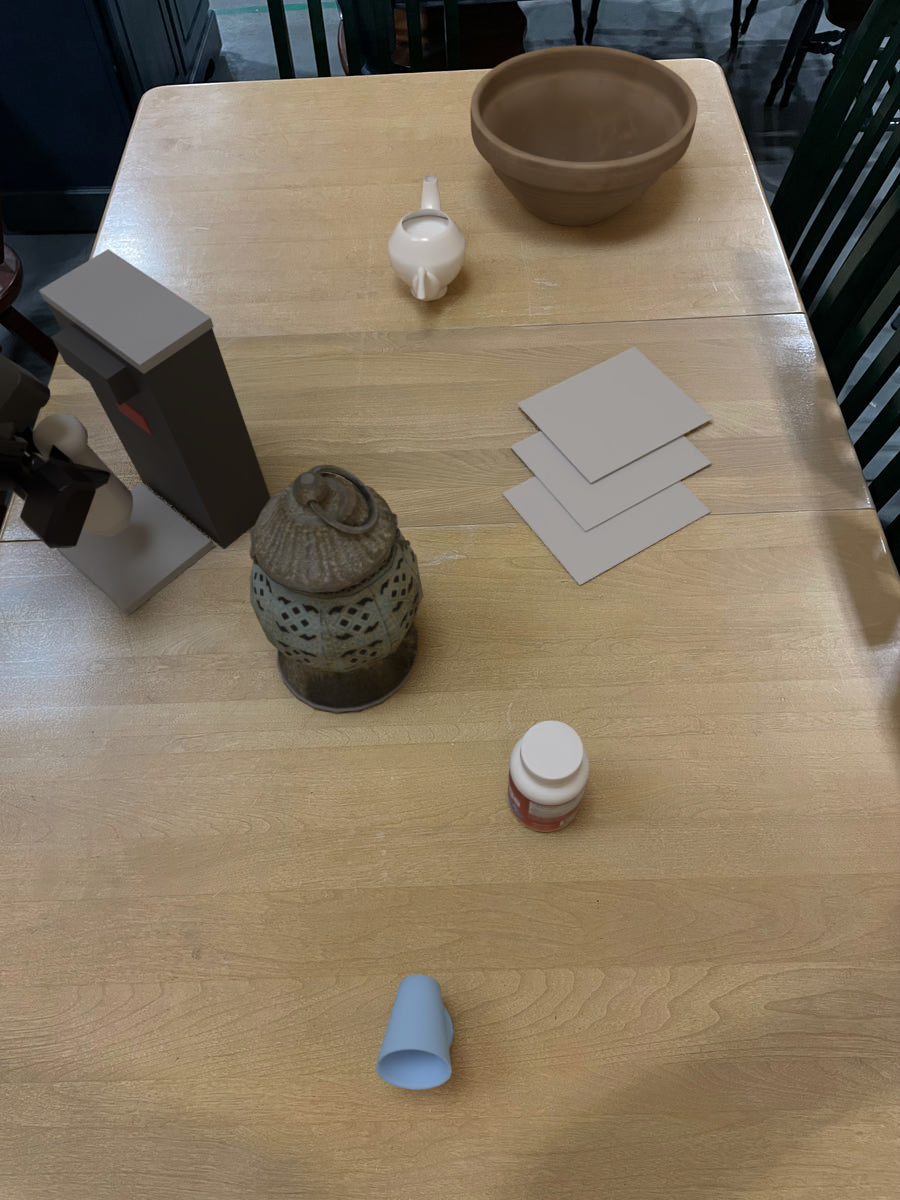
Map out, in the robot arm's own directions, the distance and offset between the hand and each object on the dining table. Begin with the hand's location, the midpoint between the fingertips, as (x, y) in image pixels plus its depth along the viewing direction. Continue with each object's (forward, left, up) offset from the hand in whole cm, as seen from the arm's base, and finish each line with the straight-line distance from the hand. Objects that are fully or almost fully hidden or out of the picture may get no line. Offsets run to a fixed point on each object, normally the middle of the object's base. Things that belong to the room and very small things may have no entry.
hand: (96, 467), depth 78 cm
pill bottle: (+24, -42, -12) cm, 50 cm away
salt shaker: (-1, -1, -7) cm, 7 cm away
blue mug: (+7, -54, -12) cm, 56 cm away
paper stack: (+49, -12, -12) cm, 52 cm away
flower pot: (+70, +31, -12) cm, 77 cm away
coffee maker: (+3, +1, -12) cm, 13 cm away
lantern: (+15, -21, -12) cm, 29 cm away
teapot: (+44, +23, -12) cm, 51 cm away
